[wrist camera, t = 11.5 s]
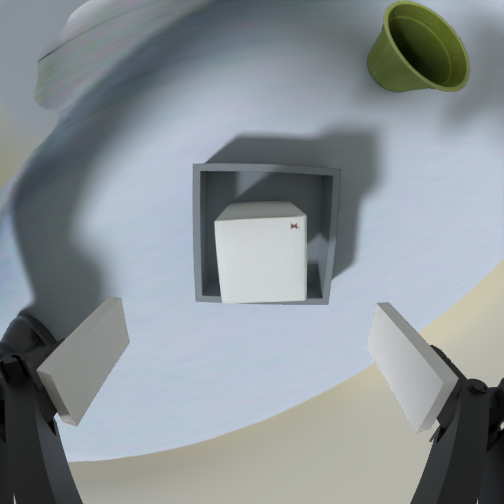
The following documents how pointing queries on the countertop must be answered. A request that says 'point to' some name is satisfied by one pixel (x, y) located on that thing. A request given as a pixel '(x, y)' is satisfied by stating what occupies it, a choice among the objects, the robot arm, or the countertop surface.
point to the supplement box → (262, 252)
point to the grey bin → (266, 189)
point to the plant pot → (417, 51)
